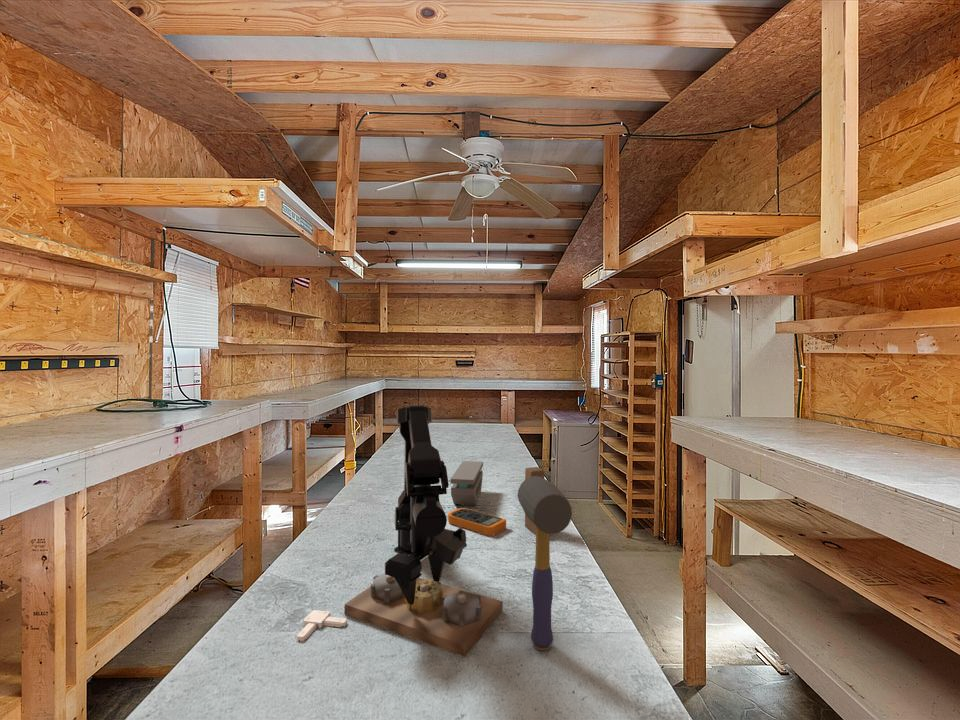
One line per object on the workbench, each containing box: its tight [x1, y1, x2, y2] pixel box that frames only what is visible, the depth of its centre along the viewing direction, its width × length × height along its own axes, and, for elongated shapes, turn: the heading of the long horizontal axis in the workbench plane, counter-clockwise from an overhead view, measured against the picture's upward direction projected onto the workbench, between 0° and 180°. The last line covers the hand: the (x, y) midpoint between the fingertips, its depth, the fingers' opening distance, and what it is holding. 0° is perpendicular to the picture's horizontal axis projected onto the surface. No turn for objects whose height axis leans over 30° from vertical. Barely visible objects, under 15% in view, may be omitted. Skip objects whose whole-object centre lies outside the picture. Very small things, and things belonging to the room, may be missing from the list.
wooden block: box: [524, 466, 552, 536], centre depth 136 cm, size 9×4×18 cm, turn 19°
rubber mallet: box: [517, 476, 573, 651], centre depth 82 cm, size 12×8×30 cm, turn 9°
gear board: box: [344, 573, 504, 658], centre depth 93 cm, size 28×16×6 cm, turn 63°
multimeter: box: [447, 507, 507, 537], centre depth 140 cm, size 9×18×3 cm, turn 52°
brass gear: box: [405, 578, 443, 614], centre depth 93 cm, size 8×8×3 cm
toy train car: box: [449, 460, 484, 506], centre depth 164 cm, size 25×8×11 cm, turn 172°
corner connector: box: [296, 609, 348, 642], centre depth 88 cm, size 8×8×2 cm
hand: (424, 593), depth 93 cm, fingers open, 9 cm apart
